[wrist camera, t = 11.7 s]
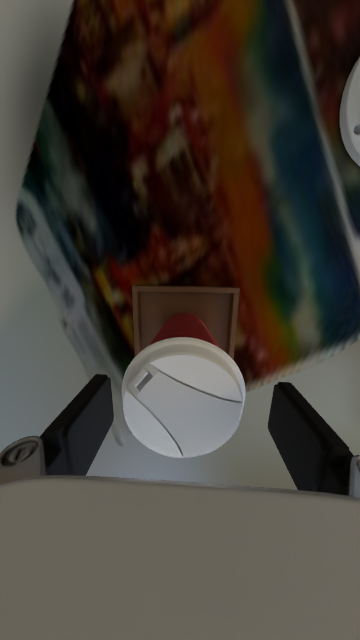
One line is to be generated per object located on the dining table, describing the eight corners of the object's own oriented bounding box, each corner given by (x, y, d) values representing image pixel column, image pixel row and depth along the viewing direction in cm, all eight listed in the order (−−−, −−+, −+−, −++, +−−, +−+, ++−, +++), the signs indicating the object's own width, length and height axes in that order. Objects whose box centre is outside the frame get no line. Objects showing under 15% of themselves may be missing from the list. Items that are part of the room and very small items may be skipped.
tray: (136, 285, 23) (131, 285, 21) (235, 286, 23) (239, 287, 21) (139, 373, 26) (135, 381, 24) (227, 376, 26) (231, 385, 24)
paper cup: (142, 337, 24) (87, 416, 11) (180, 291, 23) (171, 315, 9) (189, 372, 25) (192, 486, 12) (228, 330, 24) (284, 405, 10)
